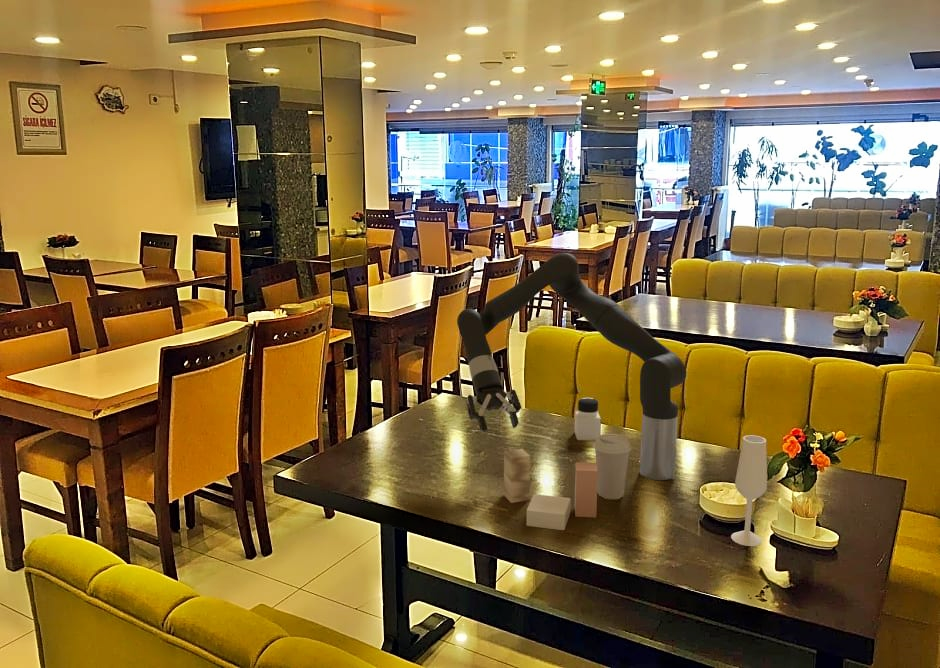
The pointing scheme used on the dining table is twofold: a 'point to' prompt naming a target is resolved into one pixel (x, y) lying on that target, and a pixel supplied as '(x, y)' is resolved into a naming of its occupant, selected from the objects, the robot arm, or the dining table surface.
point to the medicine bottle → (587, 420)
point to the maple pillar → (516, 475)
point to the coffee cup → (611, 464)
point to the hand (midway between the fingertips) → (500, 428)
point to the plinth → (548, 512)
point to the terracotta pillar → (586, 489)
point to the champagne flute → (751, 482)
